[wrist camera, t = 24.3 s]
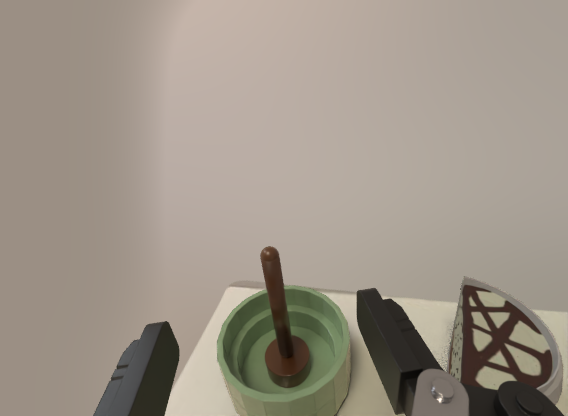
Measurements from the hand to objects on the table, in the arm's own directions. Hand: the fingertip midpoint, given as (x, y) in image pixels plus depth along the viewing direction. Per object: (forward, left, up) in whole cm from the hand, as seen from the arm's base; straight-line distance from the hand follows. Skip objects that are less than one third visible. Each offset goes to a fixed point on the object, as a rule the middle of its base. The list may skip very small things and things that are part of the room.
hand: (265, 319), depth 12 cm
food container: (+16, +7, -20) cm, 27 cm away
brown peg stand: (-2, +11, -19) cm, 22 cm away
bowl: (-2, +11, -20) cm, 23 cm away
